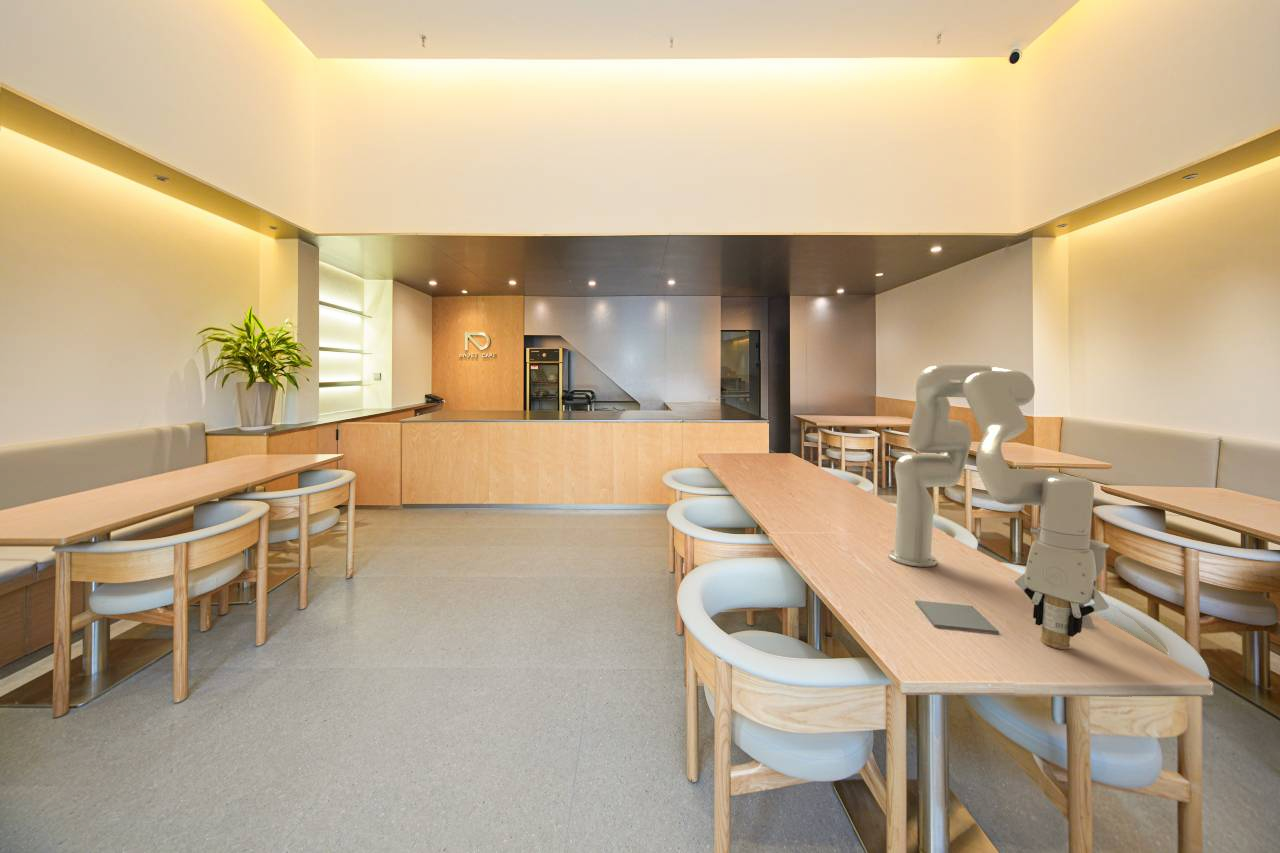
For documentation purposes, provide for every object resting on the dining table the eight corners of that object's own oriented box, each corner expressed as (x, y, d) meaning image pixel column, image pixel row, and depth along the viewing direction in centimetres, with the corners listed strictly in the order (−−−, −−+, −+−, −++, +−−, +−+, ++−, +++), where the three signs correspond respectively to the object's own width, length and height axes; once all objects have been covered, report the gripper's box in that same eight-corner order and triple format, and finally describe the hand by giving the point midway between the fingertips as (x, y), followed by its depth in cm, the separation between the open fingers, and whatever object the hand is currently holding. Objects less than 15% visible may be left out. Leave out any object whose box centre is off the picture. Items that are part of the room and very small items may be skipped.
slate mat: (915, 602, 114) (915, 600, 114) (972, 608, 112) (972, 605, 112) (934, 627, 102) (934, 624, 102) (998, 633, 100) (998, 631, 100)
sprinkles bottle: (1067, 642, 97) (1073, 577, 96) (1072, 652, 93) (1077, 585, 92) (1038, 636, 99) (1043, 572, 98) (1041, 645, 95) (1046, 579, 94)
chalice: (1050, 617, 107) (1056, 538, 106) (1067, 612, 110) (1074, 535, 109) (1091, 633, 101) (1098, 549, 99) (1108, 627, 103) (1116, 545, 102)
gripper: (1004, 531, 99) (998, 616, 101) (1116, 555, 85) (1107, 654, 87) (1019, 525, 103) (1013, 608, 105) (1129, 548, 89) (1120, 642, 91)
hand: (1056, 628), depth 96 cm, fingers closed on sprinkles bottle, 4 cm apart
